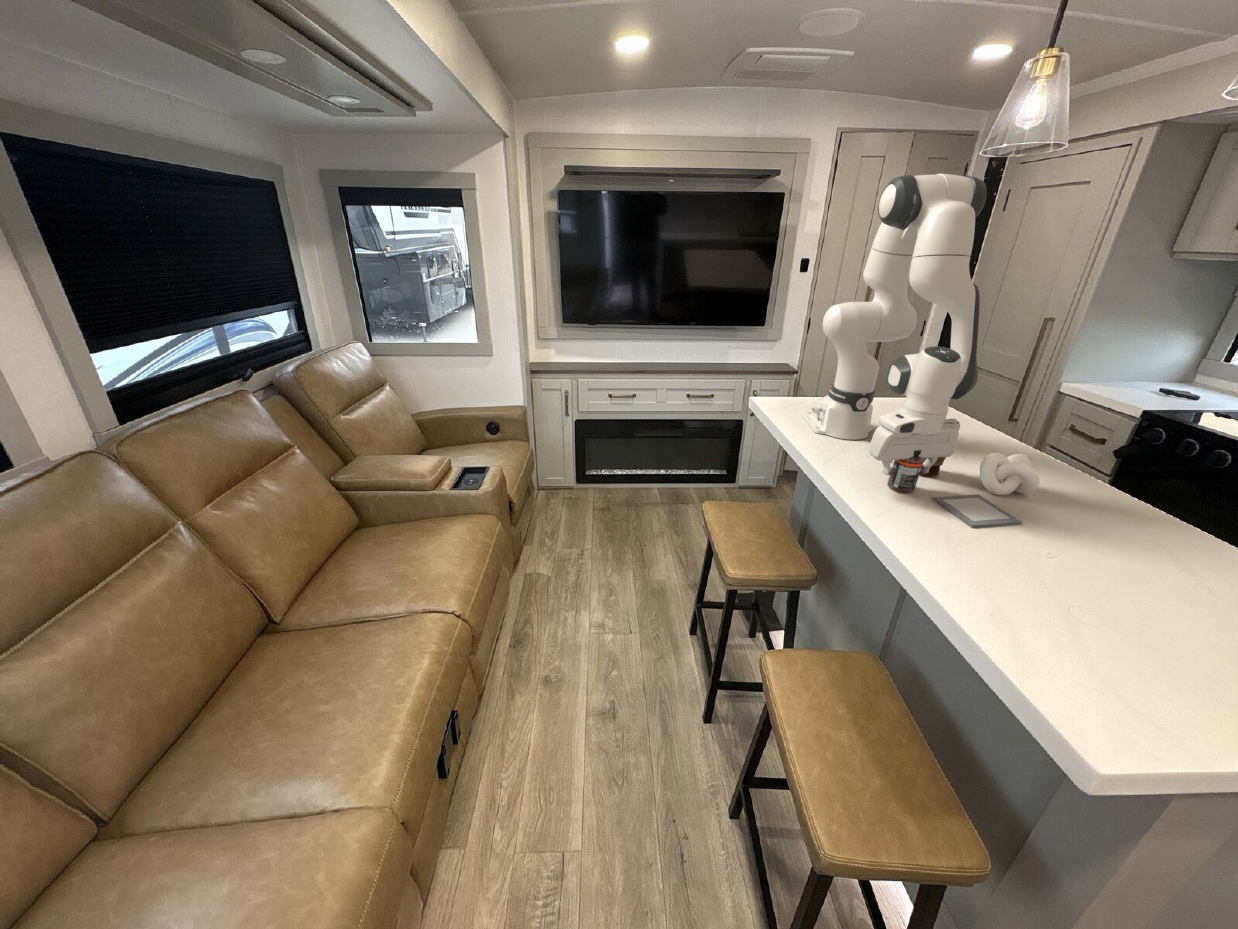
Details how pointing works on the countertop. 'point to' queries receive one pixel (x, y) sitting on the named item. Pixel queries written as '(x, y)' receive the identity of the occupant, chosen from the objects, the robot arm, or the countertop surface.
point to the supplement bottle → (906, 473)
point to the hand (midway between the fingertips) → (905, 473)
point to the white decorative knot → (1008, 474)
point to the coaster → (976, 511)
